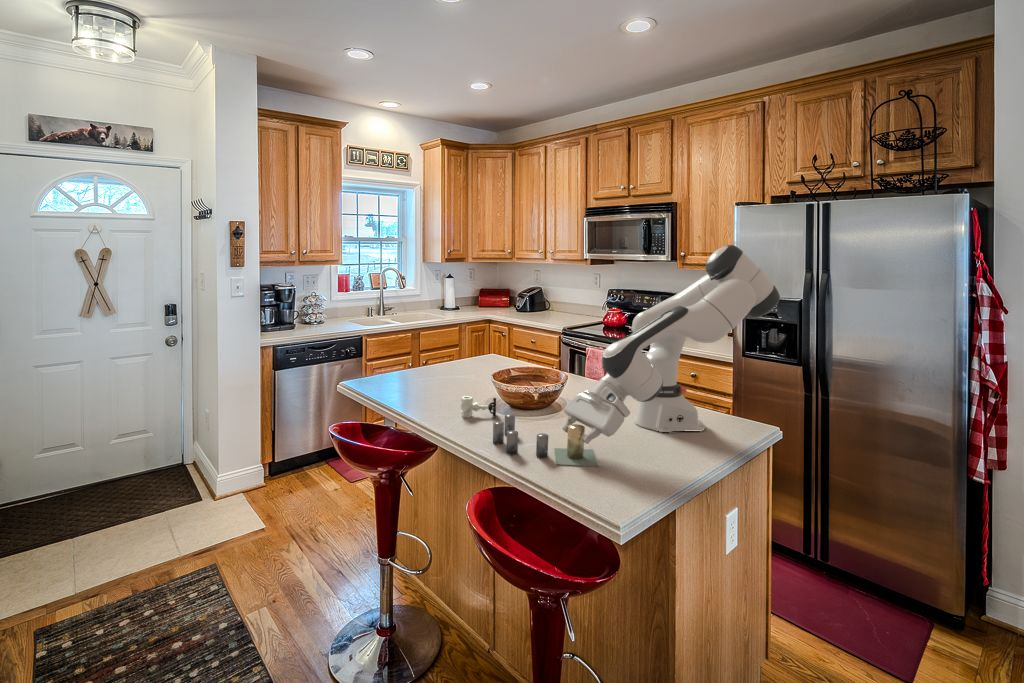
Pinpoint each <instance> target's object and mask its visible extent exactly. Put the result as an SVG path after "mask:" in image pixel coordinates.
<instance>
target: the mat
mask: <svg viewBox="0 0 1024 683" xmlns="http://www.w3.org/2000/svg"><path fill="white" fill-rule="evenodd" d="M554 450H555V451H554ZM553 451H554V456H555V457H556V458H555V464H557V465H556V466H562V465H568V466H569V465H570V466H569V467H591V466H592V467H593V466H595V467H596V468H597V467H599V464H598V461H597V458H596V455H595V452H594V449H591V448H590V449H588V448H584V454H583V458H582V459H579V460H574V459H570V458H568V457H567V448H562V447H561V448H560V447H559V448H558V447H555V448H553ZM593 468H594V467H593Z"/></svg>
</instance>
